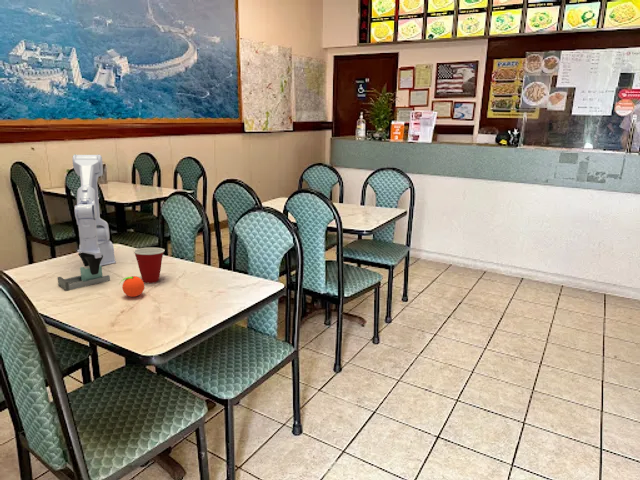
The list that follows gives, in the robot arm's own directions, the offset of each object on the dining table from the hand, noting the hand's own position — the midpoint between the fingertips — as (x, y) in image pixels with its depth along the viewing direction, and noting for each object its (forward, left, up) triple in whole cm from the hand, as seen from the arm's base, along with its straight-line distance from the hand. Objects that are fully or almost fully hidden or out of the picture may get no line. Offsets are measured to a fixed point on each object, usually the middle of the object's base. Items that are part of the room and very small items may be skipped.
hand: (92, 272), depth 164 cm
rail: (+2, 0, -3) cm, 4 cm away
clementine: (-4, +23, -3) cm, 24 cm away
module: (0, 0, -3) cm, 3 cm away
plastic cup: (-16, +13, -3) cm, 21 cm away
